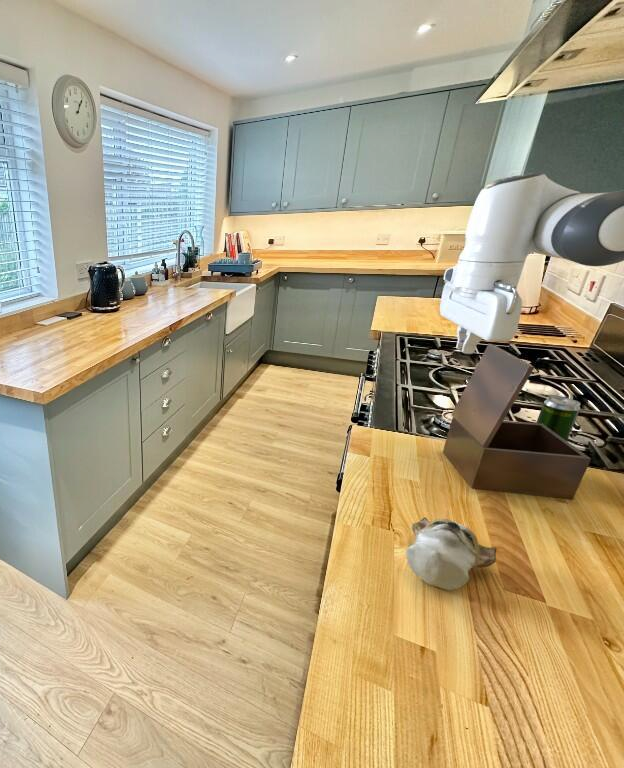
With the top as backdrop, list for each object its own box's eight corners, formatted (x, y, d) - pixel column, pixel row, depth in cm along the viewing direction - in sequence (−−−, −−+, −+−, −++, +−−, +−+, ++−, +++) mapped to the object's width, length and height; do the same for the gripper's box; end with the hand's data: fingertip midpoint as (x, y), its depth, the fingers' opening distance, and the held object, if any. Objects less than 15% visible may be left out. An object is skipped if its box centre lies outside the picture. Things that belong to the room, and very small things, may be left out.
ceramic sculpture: (395, 524, 61) (429, 487, 69) (382, 570, 64) (416, 529, 72) (489, 567, 53) (514, 519, 62) (469, 618, 56) (495, 565, 65)
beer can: (566, 458, 88) (588, 407, 84) (533, 454, 90) (552, 404, 86) (554, 446, 93) (573, 397, 88) (522, 442, 95) (540, 394, 90)
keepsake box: (528, 460, 88) (542, 423, 85) (573, 499, 76) (591, 458, 73) (442, 452, 93) (452, 417, 90) (471, 488, 81) (484, 449, 78)
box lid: (493, 344, 82) (488, 343, 83) (535, 367, 70) (529, 366, 71) (455, 415, 89) (451, 414, 90) (487, 447, 77) (482, 446, 78)
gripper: (545, 286, 63) (516, 371, 68) (479, 269, 81) (460, 337, 86) (495, 286, 65) (470, 369, 70) (441, 269, 83) (424, 336, 88)
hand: (464, 351), depth 78 cm, fingers closed
